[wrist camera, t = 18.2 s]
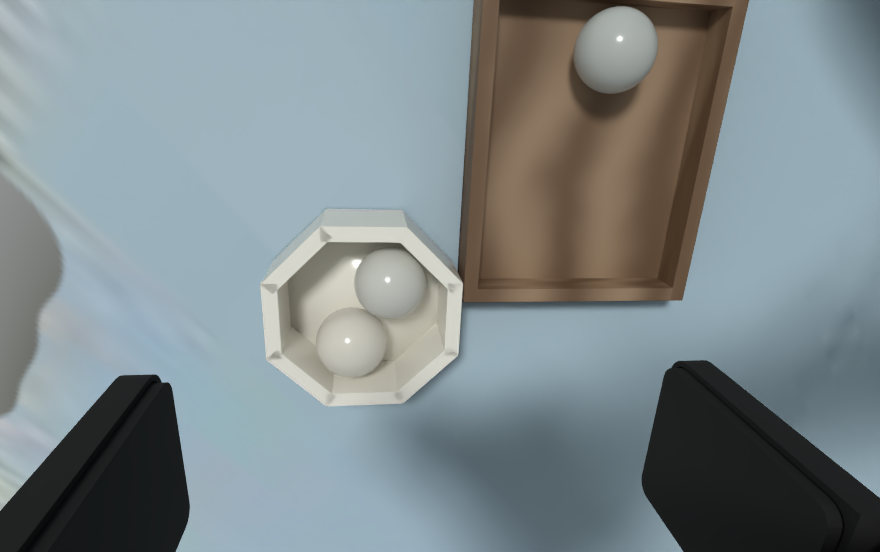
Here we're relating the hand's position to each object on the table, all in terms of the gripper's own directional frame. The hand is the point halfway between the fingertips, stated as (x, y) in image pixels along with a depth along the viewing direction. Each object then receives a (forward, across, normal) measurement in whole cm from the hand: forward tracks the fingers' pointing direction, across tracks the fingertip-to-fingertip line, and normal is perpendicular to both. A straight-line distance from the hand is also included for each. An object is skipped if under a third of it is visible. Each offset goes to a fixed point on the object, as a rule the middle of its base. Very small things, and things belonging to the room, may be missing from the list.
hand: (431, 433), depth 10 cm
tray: (+28, -14, -2) cm, 32 cm away
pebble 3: (+28, -14, -9) cm, 32 cm away
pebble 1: (+26, +1, +9) cm, 28 cm away
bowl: (+28, +2, +8) cm, 30 cm away
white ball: (+27, +1, +6) cm, 28 cm away
